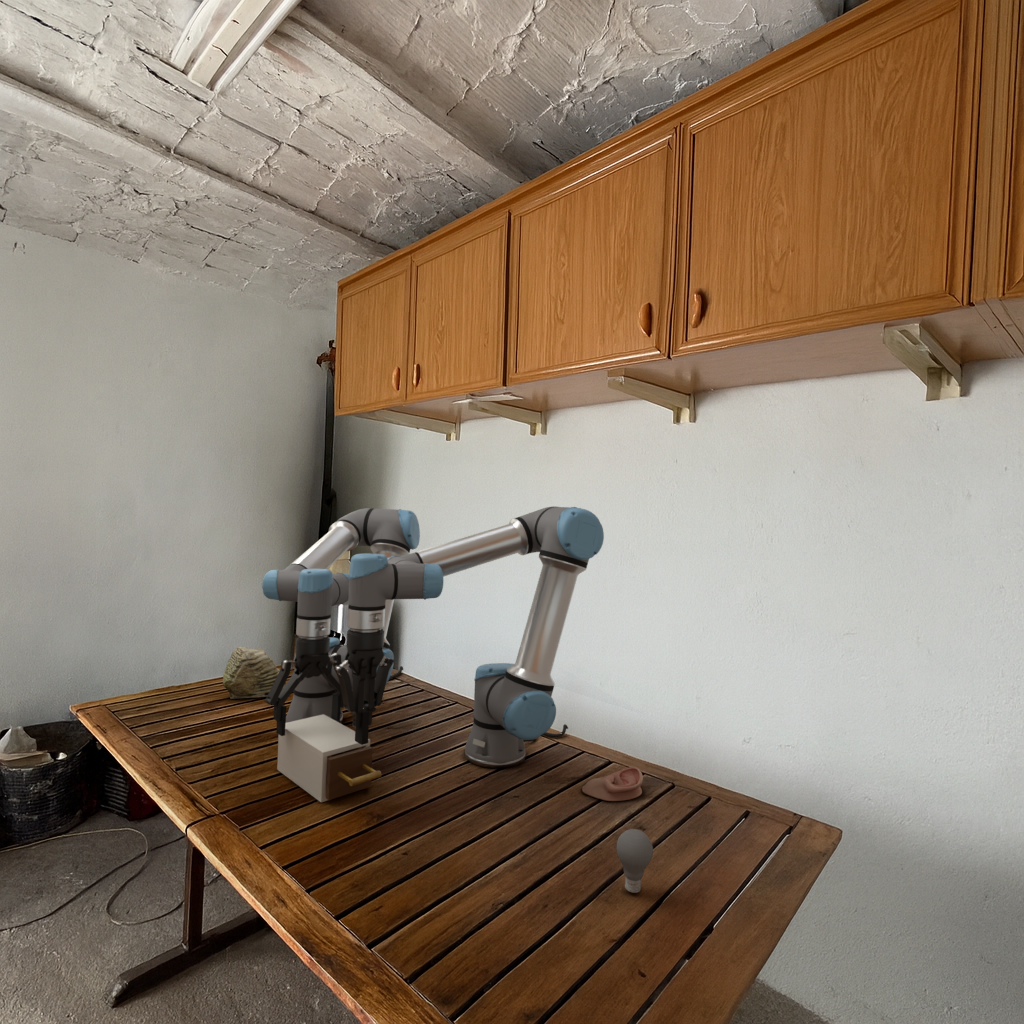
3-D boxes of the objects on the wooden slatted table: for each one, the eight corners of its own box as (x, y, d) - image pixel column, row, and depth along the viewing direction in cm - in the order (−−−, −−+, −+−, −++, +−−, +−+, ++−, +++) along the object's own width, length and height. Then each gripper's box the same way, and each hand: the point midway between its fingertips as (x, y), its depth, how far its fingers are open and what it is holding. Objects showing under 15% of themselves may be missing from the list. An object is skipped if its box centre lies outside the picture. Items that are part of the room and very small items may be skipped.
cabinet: (368, 786, 139) (370, 739, 139) (321, 802, 131) (323, 752, 131) (322, 757, 154) (323, 714, 154) (276, 769, 146) (278, 724, 146)
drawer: (387, 796, 133) (388, 756, 133) (344, 811, 126) (345, 769, 126) (326, 757, 151) (328, 722, 151) (286, 769, 144) (287, 732, 144)
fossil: (218, 695, 195) (220, 647, 195) (278, 685, 208) (279, 640, 207) (228, 703, 189) (230, 653, 188) (289, 692, 201) (290, 645, 201)
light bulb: (610, 879, 108) (613, 822, 108) (644, 879, 109) (647, 822, 109) (619, 902, 102) (622, 840, 102) (655, 901, 103) (658, 840, 103)
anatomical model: (581, 779, 138) (585, 758, 149) (580, 797, 138) (585, 775, 149) (643, 787, 135) (643, 766, 147) (642, 806, 136) (642, 783, 147)
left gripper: (267, 645, 135) (262, 744, 135) (368, 633, 153) (364, 721, 153) (252, 639, 140) (248, 734, 140) (352, 628, 158) (348, 712, 158)
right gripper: (347, 635, 124) (342, 755, 124) (402, 628, 133) (398, 740, 133) (328, 629, 129) (323, 744, 129) (382, 622, 138) (378, 729, 138)
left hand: (309, 727), depth 146 cm, fingers open, 13 cm apart
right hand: (361, 741), depth 131 cm, fingers closed
